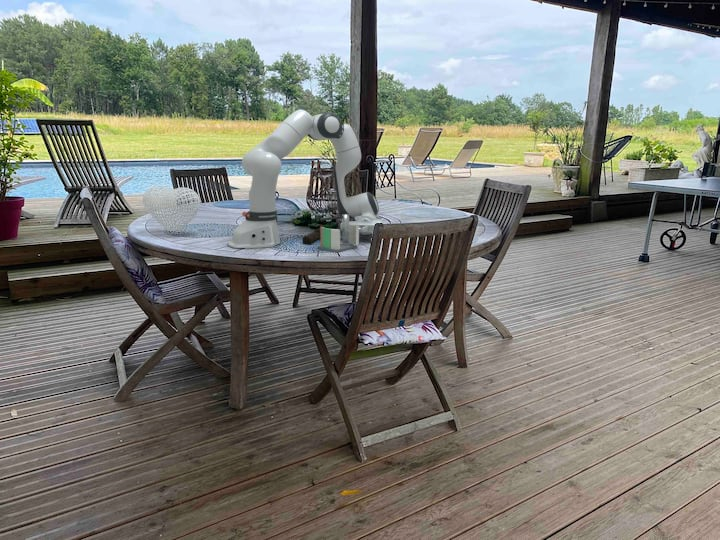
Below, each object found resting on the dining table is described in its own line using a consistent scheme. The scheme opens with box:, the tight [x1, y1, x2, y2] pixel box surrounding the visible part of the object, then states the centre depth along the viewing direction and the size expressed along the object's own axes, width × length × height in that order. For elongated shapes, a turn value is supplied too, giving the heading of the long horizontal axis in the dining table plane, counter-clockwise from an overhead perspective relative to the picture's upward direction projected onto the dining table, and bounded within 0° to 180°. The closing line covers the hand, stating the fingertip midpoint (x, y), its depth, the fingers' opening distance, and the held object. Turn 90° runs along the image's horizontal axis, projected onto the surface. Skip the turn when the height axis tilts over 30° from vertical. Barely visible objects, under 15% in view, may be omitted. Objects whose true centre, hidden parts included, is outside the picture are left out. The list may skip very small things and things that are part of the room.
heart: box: [142, 185, 201, 233], centre depth 233 cm, size 28×16×22 cm, turn 65°
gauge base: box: [316, 226, 358, 254], centre depth 212 cm, size 15×11×9 cm
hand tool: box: [302, 227, 321, 245], centre depth 226 cm, size 19×4×5 cm, turn 162°
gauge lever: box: [319, 214, 360, 246], centre depth 208 cm, size 15×9×12 cm, turn 131°
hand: (360, 230), depth 217 cm, fingers closed
